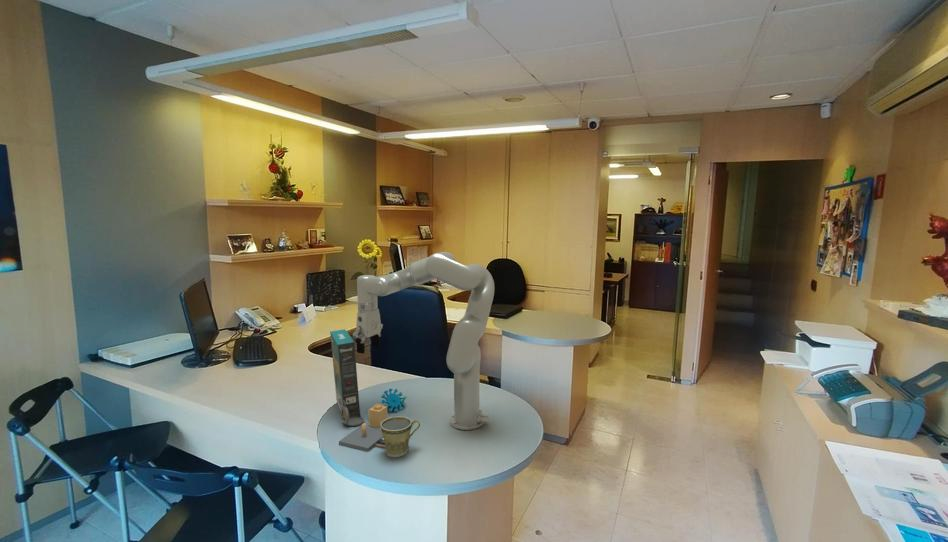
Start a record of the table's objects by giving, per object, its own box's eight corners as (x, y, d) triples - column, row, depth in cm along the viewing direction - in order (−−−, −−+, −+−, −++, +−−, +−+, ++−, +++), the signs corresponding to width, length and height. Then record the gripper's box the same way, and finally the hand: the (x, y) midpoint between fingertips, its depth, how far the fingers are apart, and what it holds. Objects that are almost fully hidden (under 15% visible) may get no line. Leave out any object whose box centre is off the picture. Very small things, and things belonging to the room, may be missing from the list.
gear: (385, 412, 163) (379, 388, 169) (380, 419, 167) (374, 395, 172) (410, 408, 170) (404, 386, 176) (405, 415, 173) (399, 393, 179)
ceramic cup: (384, 463, 131) (383, 433, 130) (378, 448, 140) (377, 419, 139) (424, 454, 137) (424, 424, 135) (416, 440, 146) (415, 412, 145)
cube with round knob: (387, 423, 158) (386, 403, 157) (380, 428, 154) (379, 409, 153) (376, 420, 160) (376, 401, 159) (369, 426, 156) (368, 407, 155)
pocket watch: (367, 420, 160) (366, 395, 159) (353, 430, 152) (352, 404, 151) (349, 417, 163) (348, 392, 162) (335, 427, 155) (334, 401, 154)
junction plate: (398, 436, 148) (397, 421, 147) (378, 454, 137) (377, 437, 136) (361, 428, 154) (360, 413, 153) (338, 444, 143) (338, 428, 142)
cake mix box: (360, 417, 163) (354, 342, 159) (344, 420, 160) (337, 344, 156) (350, 396, 182) (345, 329, 178) (336, 399, 180) (330, 331, 176)
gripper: (361, 311, 155) (362, 357, 157) (388, 303, 170) (389, 344, 172) (345, 310, 158) (346, 354, 160) (373, 302, 173) (374, 342, 175)
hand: (368, 349), depth 166 cm, fingers open, 9 cm apart
